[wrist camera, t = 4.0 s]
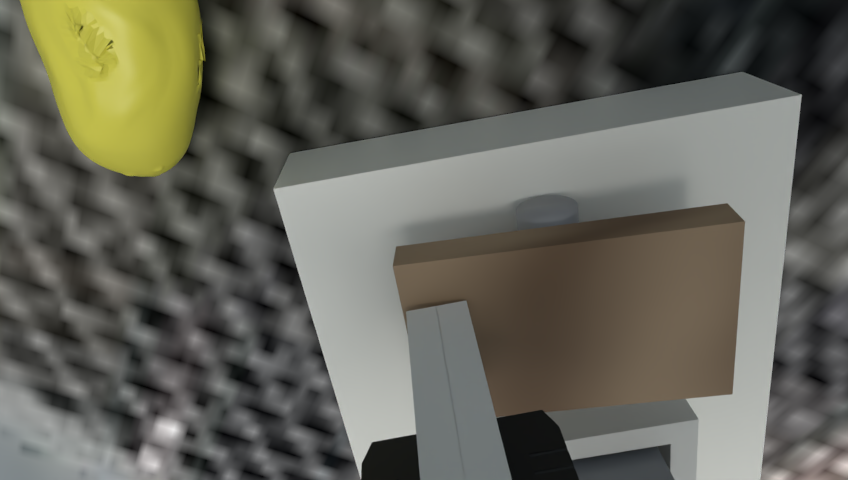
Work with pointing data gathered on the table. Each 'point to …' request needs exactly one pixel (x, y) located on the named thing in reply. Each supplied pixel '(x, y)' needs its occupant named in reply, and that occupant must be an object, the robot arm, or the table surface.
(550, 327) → the walnut rocker
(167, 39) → the lemon
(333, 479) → the table surface
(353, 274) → the switch housing
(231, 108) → the table surface
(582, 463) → the charcoal button
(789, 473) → the table surface
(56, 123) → the table surface
